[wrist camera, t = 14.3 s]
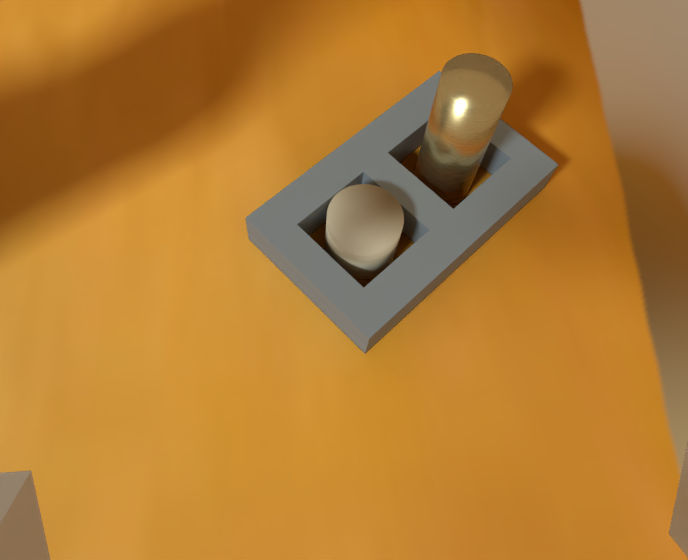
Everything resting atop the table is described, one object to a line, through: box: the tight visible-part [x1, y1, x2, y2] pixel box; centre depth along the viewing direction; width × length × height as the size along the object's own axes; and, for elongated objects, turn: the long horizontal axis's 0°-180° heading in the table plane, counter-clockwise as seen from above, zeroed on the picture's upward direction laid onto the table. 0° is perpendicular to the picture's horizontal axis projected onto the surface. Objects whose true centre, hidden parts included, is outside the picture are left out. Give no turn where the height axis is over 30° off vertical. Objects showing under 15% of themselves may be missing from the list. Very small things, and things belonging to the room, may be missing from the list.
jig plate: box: [246, 71, 558, 353], centre depth 47 cm, size 12×20×3 cm, turn 134°
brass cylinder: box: [413, 53, 513, 205], centre depth 45 cm, size 4×4×11 cm
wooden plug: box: [325, 184, 404, 280], centre depth 45 cm, size 5×5×4 cm
